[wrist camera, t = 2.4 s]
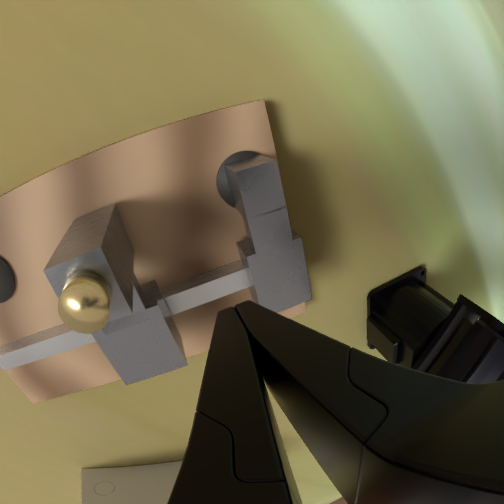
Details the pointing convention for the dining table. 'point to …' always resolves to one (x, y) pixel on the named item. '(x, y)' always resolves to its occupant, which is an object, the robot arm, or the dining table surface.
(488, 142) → the dining table surface
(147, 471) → the grey curved block
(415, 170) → the dining table surface
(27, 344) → the rail
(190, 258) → the brown wooden board
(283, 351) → the robot arm
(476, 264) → the dining table surface
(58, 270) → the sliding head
